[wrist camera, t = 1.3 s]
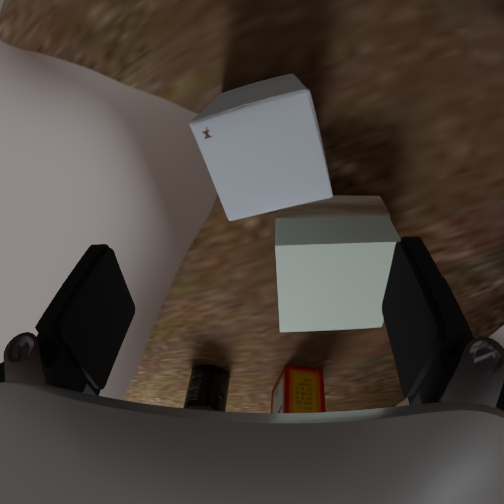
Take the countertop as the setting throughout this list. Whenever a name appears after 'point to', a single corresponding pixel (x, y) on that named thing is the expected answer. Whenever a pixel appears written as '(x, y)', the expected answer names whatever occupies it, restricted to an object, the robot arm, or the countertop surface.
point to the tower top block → (332, 271)
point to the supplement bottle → (207, 389)
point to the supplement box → (263, 147)
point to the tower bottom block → (338, 207)
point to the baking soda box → (299, 391)
